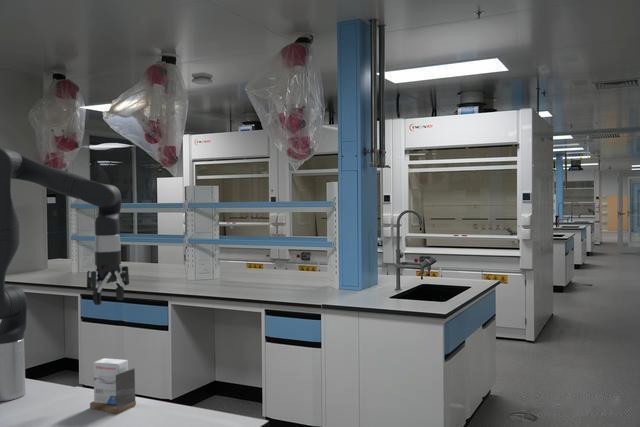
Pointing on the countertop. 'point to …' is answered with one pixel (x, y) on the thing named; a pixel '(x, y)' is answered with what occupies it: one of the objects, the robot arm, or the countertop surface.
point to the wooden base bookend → (120, 394)
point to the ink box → (107, 379)
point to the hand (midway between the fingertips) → (109, 302)
